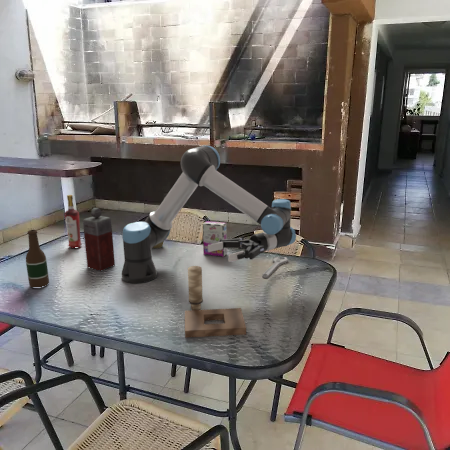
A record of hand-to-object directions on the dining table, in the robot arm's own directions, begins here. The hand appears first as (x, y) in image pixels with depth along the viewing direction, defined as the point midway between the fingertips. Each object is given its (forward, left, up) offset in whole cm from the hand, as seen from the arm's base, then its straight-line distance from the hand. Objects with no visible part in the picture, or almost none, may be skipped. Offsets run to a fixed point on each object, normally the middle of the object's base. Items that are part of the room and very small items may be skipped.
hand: (218, 253), depth 160 cm
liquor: (-71, +72, -20) cm, 103 cm away
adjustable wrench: (+27, +33, -20) cm, 47 cm away
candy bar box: (+2, +53, -20) cm, 57 cm away
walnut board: (-3, -18, -20) cm, 27 cm away
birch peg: (-9, -5, -20) cm, 22 cm away
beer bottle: (-74, +23, -20) cm, 80 cm away
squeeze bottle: (-28, +68, -20) cm, 76 cm away
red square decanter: (-53, +43, -20) cm, 71 cm away
